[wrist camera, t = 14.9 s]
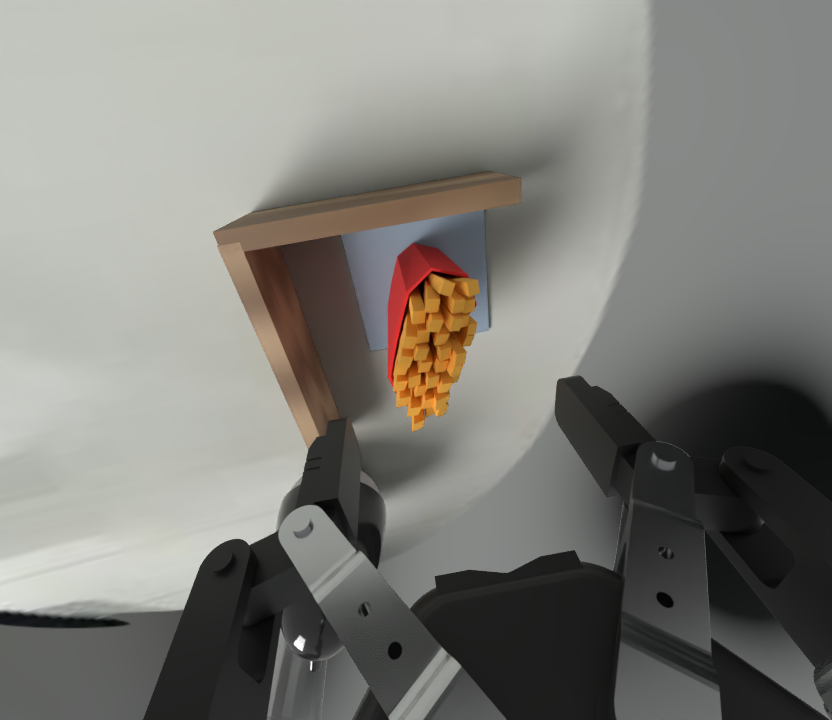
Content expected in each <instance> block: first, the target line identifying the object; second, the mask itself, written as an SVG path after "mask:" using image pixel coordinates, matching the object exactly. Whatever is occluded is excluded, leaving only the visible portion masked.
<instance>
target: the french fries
mask: <svg viewBox="0 0 832 720" xmlns="http://www.w3.org/2000/svg"><path fill="white" fill-rule="evenodd" d="M479 293H480V292H479V283H478V280H477V279H470V278H469V276H468V274H467V273H465V272H464V271H463V270H462V269H461V268H460V267H459V266H457V265H456V264H455V263H454V262H453V261H452V260H451V259H449V258H448V257H447V256H446V255H445V254H444V253H443V252H442V251H440V250H439V249H438V248H434V247H429V246H424V245H420V244H415V243H412V244H411V245H410V246H409V247H407V248H406V249H405V250H404V251H403V252H402V253H400V254H399V255H398V256H397V259H396V264H395V268H394V272H393V277H392V282H391V288H390V293H389V300H388V307H387V311H388V378H389V380H390V382H391V384H392V386H393V391H395V392H396V408H397V407H402V406H407V405H408V411H407V417H409V416H412V432H413V431H415V430H418V429H420V428H423V425H424V421H425V417H424V410H425V416H426V417H427V416H430V415H432V414H434V413H435V414H436V416H437V417H439V416H441V415H444V414H445V413H446V411H447V408H448V405H449V404H448V403H447V402H448V399H449V395H450V393H449V389H450V387H451V385H452V383H455V382H457V381H458V378H459V376H460V372H461V370H462V367H463V364H464V363H465V358H466V353H467V352H466V351H465V349H464V348H463V347H464V346H470V345H471V343H472V340H473V338H474V334H476V329H477V324H478V323H477V322H476V321H475V320H474V319H473V318H472V317H471V316H470V315H469V314H470V313H471V312H474V310H475V307H476V306H477V303H476V300H475V296H474V295H476V294H479ZM408 403H409V404H408Z"/></svg>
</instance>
